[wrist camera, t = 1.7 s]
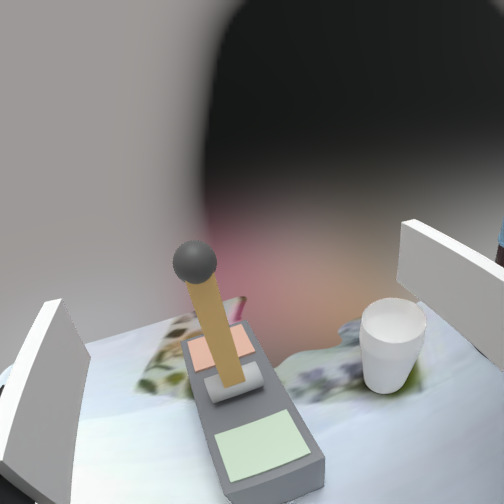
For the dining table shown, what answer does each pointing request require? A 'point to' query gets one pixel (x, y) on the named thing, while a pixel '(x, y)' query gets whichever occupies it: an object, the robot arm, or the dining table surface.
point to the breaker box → (254, 429)
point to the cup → (390, 342)
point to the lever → (214, 322)
